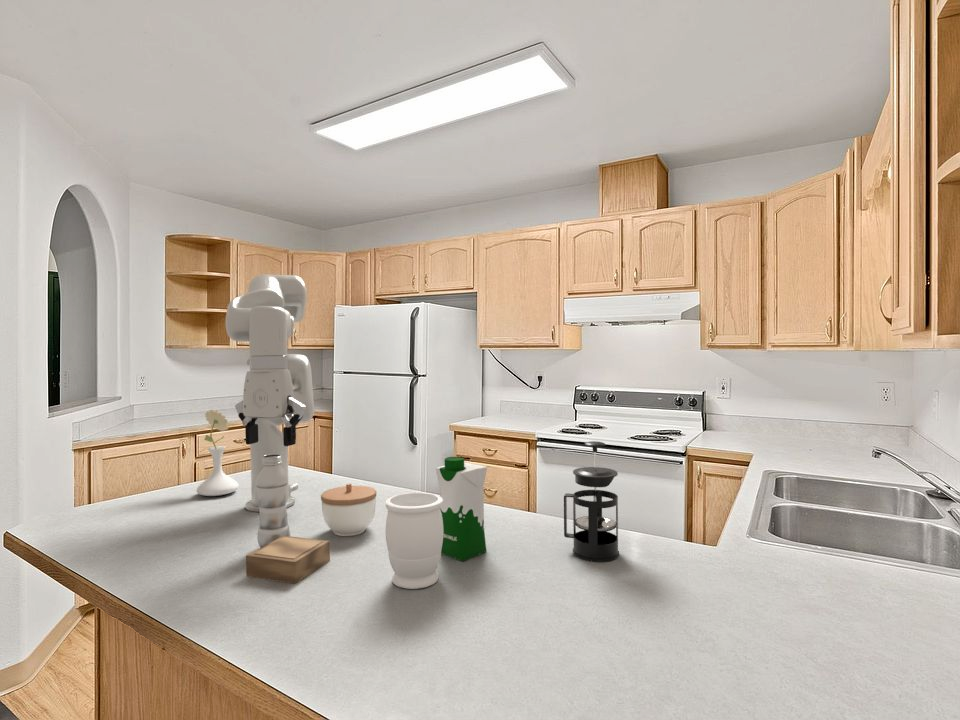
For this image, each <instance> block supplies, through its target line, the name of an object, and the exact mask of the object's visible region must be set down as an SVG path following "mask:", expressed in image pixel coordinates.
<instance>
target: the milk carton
mask: <svg viewBox="0 0 960 720" xmlns="http://www.w3.org/2000/svg"><path fill="white" fill-rule="evenodd" d="M487 469H488V466H485V465H481V464H475V463H470V462H465V458H464V457H462V456H449V457H445V458H444V465H441V466H437V467H435V471H436V477H437V481H438V486H439V496H441V497H442V498H443V504H442V506H441V507H440V510H441V514H442V519H443V531H444V532H443V544H442V549H441V555H444V556H448V557H449V558H451V559H455V560H458V561H461V562H465V561H467V560H470V559H472V558H474V557H477V556H479V555H481V554H483V553H486V552H487V543H486V535H485V513H484V512H485V509H484V508H485V507H484V506H485V505H484V504H485V503H484V502H485V500H484V494H485V493H484V492H485V491H484V487H485V481H486V475H487Z"/></svg>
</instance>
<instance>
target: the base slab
mask: <svg viewBox="0 0 960 720" xmlns="http://www.w3.org/2000/svg"><path fill="white" fill-rule="evenodd" d="M330 542H331V541H330V540H325V539H315V538H306V537H299V536H298V537H297V536H291V535H290V536H282V537H280V538H278V539H276V540H275V541H273V542H271V543H269V544H267V545H265V546H263V547H259V548H258V549H256V550H253V551H252V552H250V553H248V554H245V575H246V577H248V578H255V579H262V580H268V581H277V582H280V583H281V582H282V583H289V584H298V583H299V582H301V580H303V579H304V578H306V577H307V576H309V575H310V574H312V573H314V572H315V571H317V570H319V569H320V568H321V567H322V566H324V565H326V564H327V563H328V562H331V553H330V551H331V549H330V547H331V546H330V544H331V543H330Z"/></svg>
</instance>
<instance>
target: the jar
mask: <svg viewBox="0 0 960 720" xmlns="http://www.w3.org/2000/svg"><path fill="white" fill-rule="evenodd" d="M442 504H443V498H442V497H441V496H440V494H435V493H429V492H408V493H406V492H405V493H400V494H395V495H393V496H390V497H389V498H387V499H386V500H385V508H386V509H387V510H388V512H387V516H386V520H385V542H386V548H387V551H388V559H389V560H388V561H389V563H390V566H391V568H392V571H393V572H394V574H393V576H392V579H391V581H392V583H393V584H394V585H395V586H397V587H398V588H401V589H405V590H406V589H407V590H417V589H419V590H420V589H424V588H429V587H430V586H432V585H434V584H436V583H437V582H438V580H439V578H440V577H439V573H438V571H437V568H438V566H439V565H440V562H441V558H442V557H441V556H442V554H441V549H442V544H443V532H444V531H443V519H442V514H441V510H440V507H441V506H442Z"/></svg>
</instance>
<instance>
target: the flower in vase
mask: <svg viewBox="0 0 960 720" xmlns="http://www.w3.org/2000/svg"><path fill="white" fill-rule="evenodd" d="M204 415H205V420H206V421H207V422H208V424H209V425H211V430H210V436H209V435H208V434H206V435H205V437H204V441H207V442H209V443H212V445H214V446H210V447H208V448H207V450H208V451H209V453H210V455H211V457H212V458H211V459H212V465H213V467H212V472H211V474H210V476H208V477H206V479H205V480H204V481H202V482H201V483H200V484H199V486H197V487H196V492H197V494H198V495H200V496H205V497H206V496H207V497H216V496H217V497H218V496H223V495H228V494H231V493H233V492H235V491H237V490H238V489H239V487H240V485H239V483H238V482H237V481H236V480H235V479H233V478H232V477H230V476H229V475H227V474H226V473H225V472H224V471H223V467H222V466H223V465H222V463H223V462H222V461H223V454H224V452H225V450H226V448H227V446H226V445H225V446H224V445H218V446H217V445H216V443H218V442H219V441H220V440H222V439H224V435H222V437H221V438H218V439H217V440H216V441H214V439H213V436H212V435H213V430H214V429H215V430H218V431H221V432H222V431H223V432H224V431H227V430H229V425H230V424H229V422H228V419H227V418H226V415H224V414H222V412H219V411H218V410H217V409H216V410H215V411H214V410H213V409H211V408H210V409H209V410H208V411H206V412H205V414H204Z"/></svg>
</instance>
